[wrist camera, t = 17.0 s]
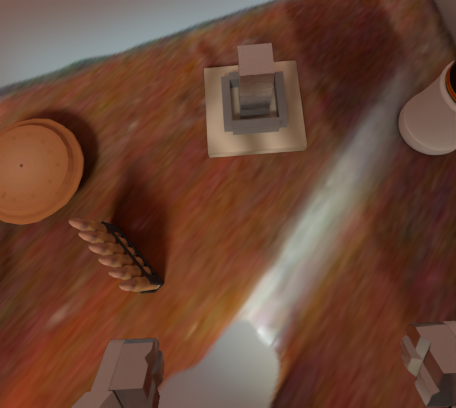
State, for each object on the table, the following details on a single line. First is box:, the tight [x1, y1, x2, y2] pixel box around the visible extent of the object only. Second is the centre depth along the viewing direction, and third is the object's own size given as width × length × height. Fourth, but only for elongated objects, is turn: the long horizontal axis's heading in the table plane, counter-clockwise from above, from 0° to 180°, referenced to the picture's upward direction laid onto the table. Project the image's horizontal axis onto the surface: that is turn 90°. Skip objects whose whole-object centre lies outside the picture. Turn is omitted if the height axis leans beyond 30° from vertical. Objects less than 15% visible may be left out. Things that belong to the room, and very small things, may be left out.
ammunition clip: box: [69, 218, 164, 293], centre depth 37 cm, size 11×2×12 cm, turn 42°
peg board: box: [204, 60, 307, 158], centre depth 45 cm, size 14×14×4 cm
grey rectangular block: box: [237, 43, 275, 119], centre depth 40 cm, size 4×4×10 cm
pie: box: [0, 118, 84, 225], centre depth 44 cm, size 15×16×5 cm
